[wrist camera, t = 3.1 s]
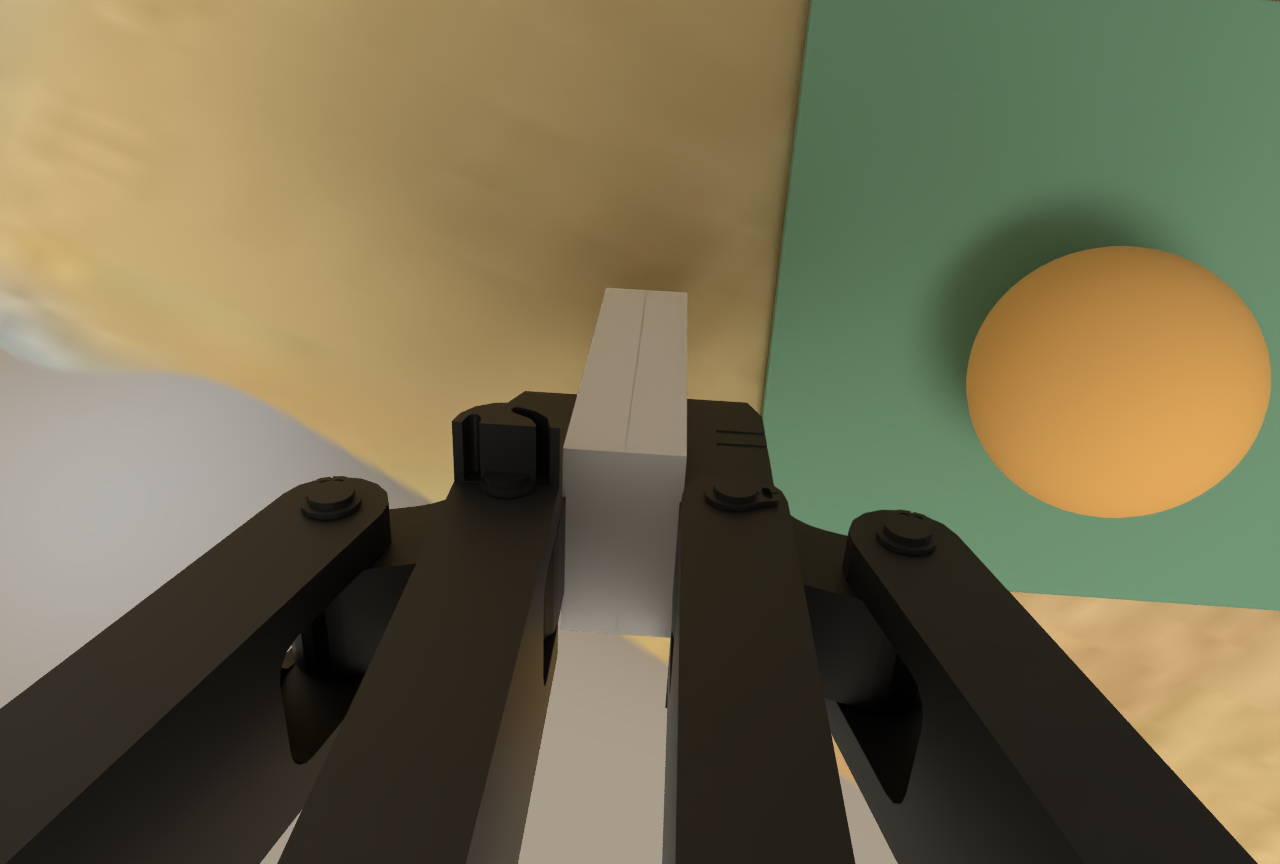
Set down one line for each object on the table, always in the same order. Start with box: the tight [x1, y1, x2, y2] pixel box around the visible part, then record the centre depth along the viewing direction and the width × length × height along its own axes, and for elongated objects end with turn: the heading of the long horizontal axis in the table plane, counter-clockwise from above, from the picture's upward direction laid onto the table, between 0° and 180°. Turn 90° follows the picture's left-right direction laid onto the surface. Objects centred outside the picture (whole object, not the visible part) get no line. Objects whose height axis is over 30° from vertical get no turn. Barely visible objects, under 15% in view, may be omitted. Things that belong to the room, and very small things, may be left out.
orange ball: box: [966, 246, 1271, 518], centre depth 17 cm, size 5×5×5 cm
